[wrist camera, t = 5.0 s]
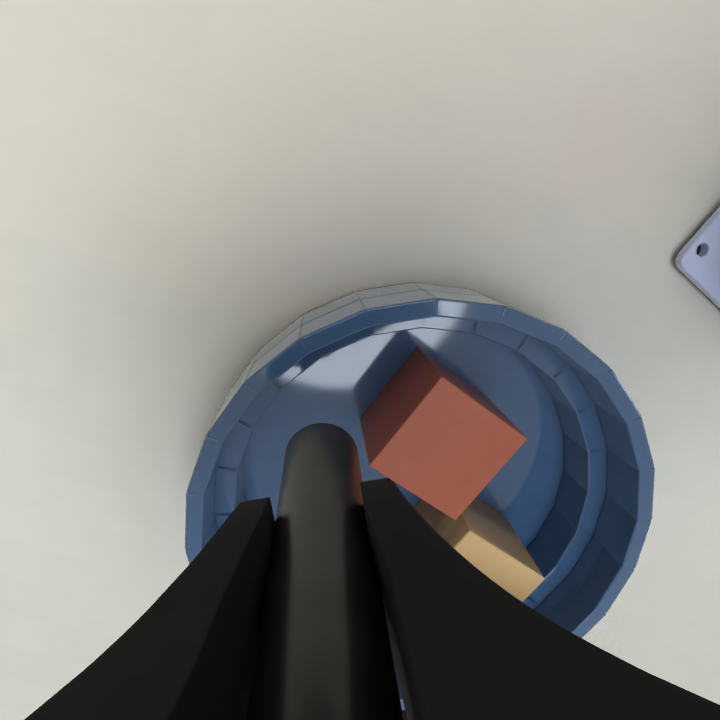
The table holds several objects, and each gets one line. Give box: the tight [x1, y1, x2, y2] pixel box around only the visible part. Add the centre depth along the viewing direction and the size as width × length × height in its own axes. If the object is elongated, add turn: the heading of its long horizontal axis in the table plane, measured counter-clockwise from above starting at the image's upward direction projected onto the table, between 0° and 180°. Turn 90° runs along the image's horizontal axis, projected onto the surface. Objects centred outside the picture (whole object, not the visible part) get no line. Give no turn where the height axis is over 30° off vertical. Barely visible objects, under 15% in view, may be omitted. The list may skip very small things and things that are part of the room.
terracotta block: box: [360, 346, 527, 520], centre depth 18 cm, size 4×4×4 cm
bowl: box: [185, 283, 655, 710], centre depth 19 cm, size 17×17×4 cm
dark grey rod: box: [246, 423, 404, 720], centre depth 8 cm, size 2×2×9 cm
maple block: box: [414, 497, 544, 602], centre depth 20 cm, size 4×4×4 cm
